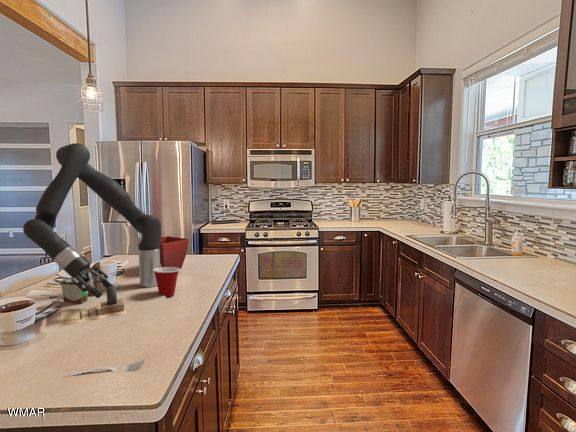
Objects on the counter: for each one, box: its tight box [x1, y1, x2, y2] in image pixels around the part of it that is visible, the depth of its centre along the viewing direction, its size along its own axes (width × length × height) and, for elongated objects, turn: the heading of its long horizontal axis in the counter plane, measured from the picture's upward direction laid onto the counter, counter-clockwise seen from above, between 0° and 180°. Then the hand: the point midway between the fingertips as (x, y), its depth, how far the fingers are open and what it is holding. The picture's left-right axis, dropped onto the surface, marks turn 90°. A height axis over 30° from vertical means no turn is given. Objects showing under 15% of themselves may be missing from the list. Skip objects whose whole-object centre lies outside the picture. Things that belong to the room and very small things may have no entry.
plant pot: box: [139, 235, 190, 270], centre depth 190 cm, size 19×19×17 cm
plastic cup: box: [153, 267, 181, 299], centre depth 146 cm, size 11×11×12 cm
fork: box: [71, 359, 147, 376], centre depth 88 cm, size 3×24×2 cm, turn 104°
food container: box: [59, 277, 89, 305], centre depth 136 cm, size 12×6×10 cm, turn 71°
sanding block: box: [100, 285, 125, 315], centre depth 126 cm, size 7×7×8 cm
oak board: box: [59, 305, 128, 327], centre depth 123 cm, size 20×14×2 cm
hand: (106, 292), depth 125 cm, fingers open, 8 cm apart
